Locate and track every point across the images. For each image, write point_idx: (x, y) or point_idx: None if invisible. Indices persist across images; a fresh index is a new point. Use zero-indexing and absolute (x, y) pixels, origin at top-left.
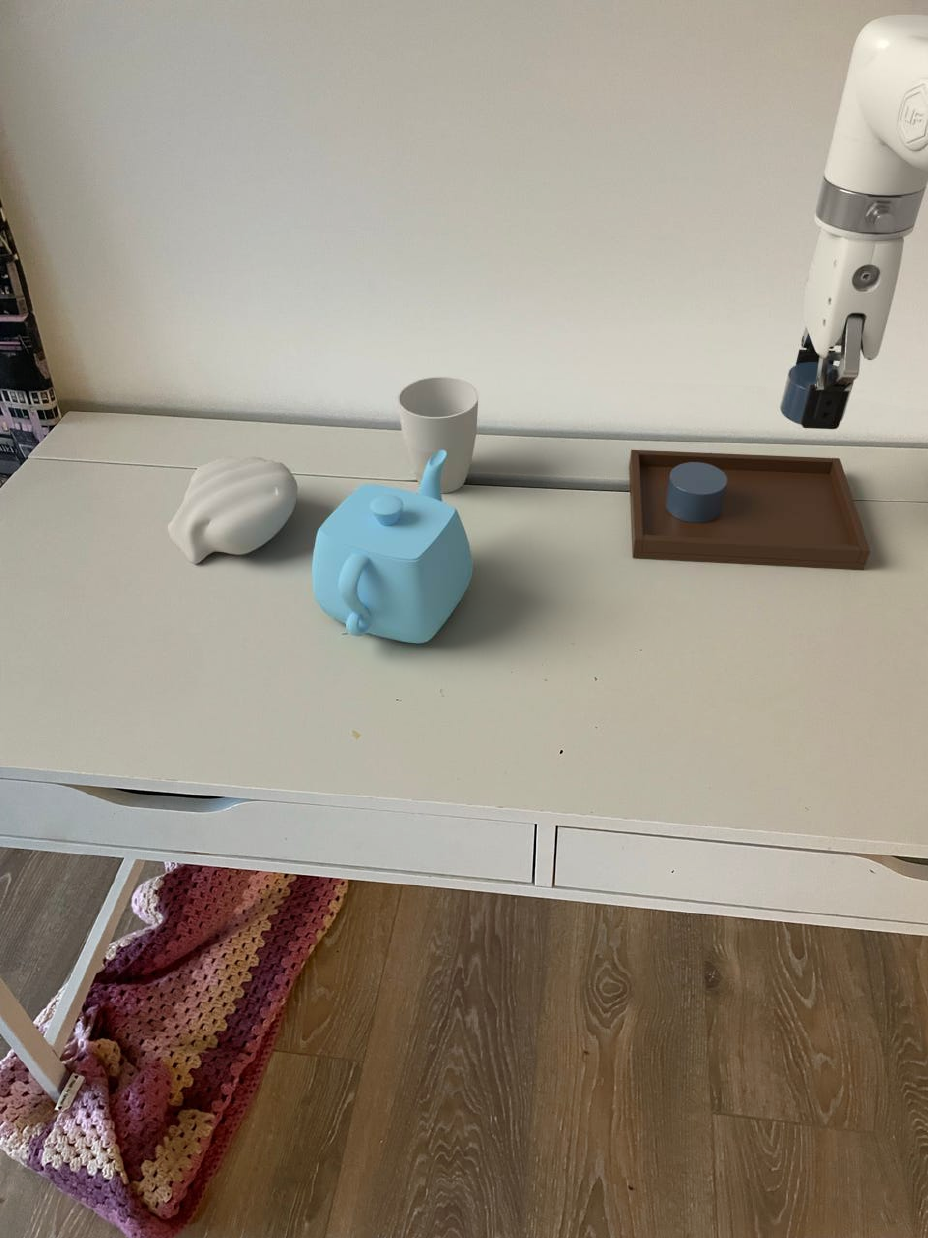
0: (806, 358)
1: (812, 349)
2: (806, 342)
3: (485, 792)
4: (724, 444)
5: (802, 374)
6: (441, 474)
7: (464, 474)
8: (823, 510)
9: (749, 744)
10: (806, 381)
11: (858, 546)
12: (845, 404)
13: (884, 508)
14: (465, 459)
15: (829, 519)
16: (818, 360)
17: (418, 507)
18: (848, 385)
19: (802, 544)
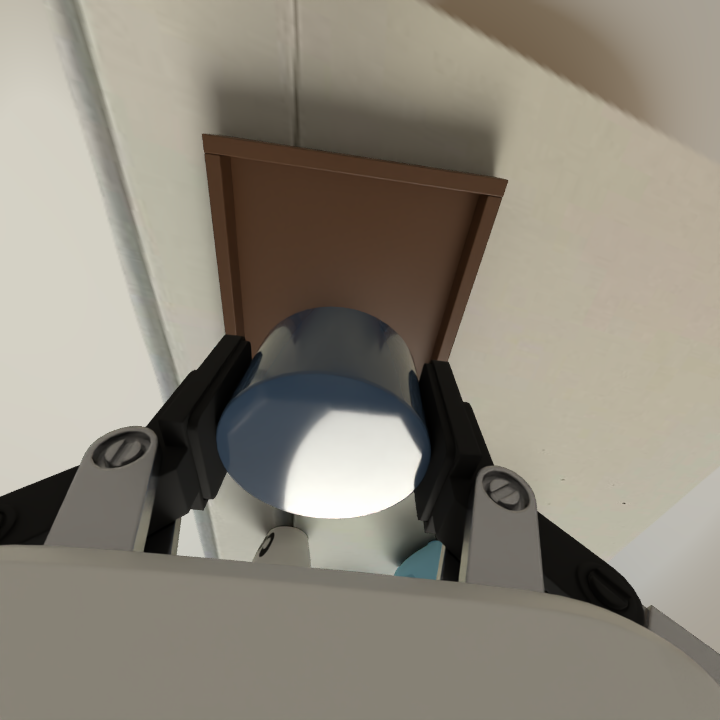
0: (217, 479)
1: (192, 496)
2: (177, 533)
3: (632, 534)
4: (161, 303)
5: (310, 493)
6: (310, 563)
7: (297, 542)
8: (347, 206)
9: (702, 397)
10: (353, 494)
11: (490, 199)
12: (398, 360)
13: (321, 52)
14: (298, 562)
15: (373, 204)
16: (215, 446)
17: None
18: (593, 556)
19: (462, 290)
